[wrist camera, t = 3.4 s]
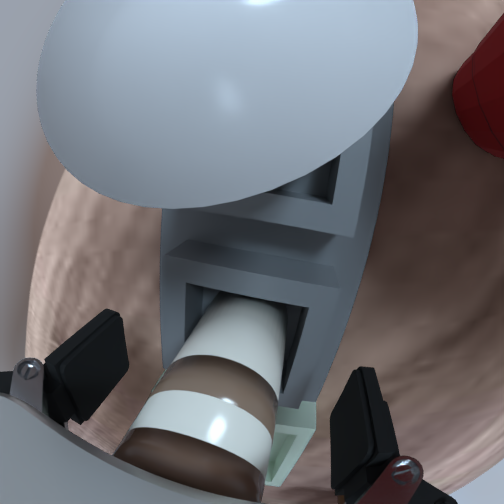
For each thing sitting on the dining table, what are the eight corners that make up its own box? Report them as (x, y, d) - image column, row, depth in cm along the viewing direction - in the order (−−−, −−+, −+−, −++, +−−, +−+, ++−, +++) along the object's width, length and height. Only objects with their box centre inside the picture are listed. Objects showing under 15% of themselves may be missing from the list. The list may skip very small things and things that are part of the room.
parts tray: (169, 364, 18) (151, 390, 16) (316, 396, 17) (315, 429, 14) (175, 437, 22) (165, 459, 19) (283, 462, 21) (279, 486, 18)
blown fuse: (213, 273, 13) (86, 437, 4) (296, 289, 13) (274, 501, 3) (208, 339, 15) (124, 493, 5) (280, 354, 14) (247, 531, 5)
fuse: (238, 86, 10) (95, -57, 1) (328, 97, 10) (394, -78, 1) (226, 170, 12) (20, 192, 2) (316, 184, 11) (395, 252, 2)
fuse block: (203, 41, 12) (170, 5, 7) (384, 64, 10) (413, 29, 6) (174, 351, 18) (146, 392, 14) (315, 381, 17) (315, 432, 12)
